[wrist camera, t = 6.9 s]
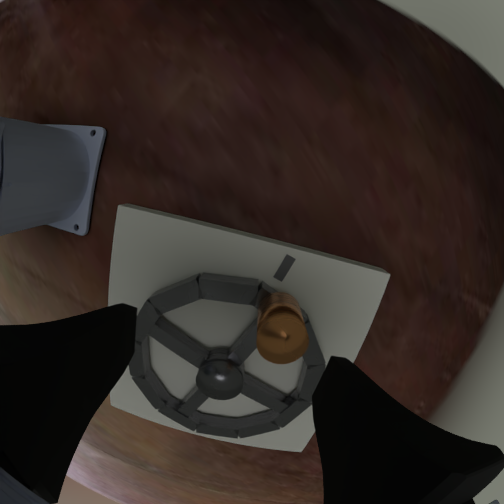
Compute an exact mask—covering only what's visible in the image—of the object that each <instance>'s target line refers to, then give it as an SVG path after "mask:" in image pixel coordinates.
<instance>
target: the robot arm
mask: <svg viewBox="0 0 504 504" xmlns="http://www.w3.org/2000/svg"><path fill="white" fill-rule="evenodd" d="M94 131H96V134H95V135H94V136H93V133H94ZM105 137H106V130H105V128H102V127H96V126H80V125H52V124H37V123H32V122H27V121H22V120H16V119H11V118H5V117H0V236H2V235H5V234H9V233H13V232H17V231H21V230H25V229H29V228H33V227H37V226H41V225H45V224H46V225H49V226H53V227H56V228H59V229H62V230H65V231H68V232H71V233H75V234H78V235H82V236H83V235H86V234H87V233H88V230H89V222H90V215H91V207H92V200H93V194H94V188H95V183H96V177H97V172H98V167H99V162H100V158H101V153H102V149H103V145H104V141H105ZM77 225H78V226H79V229H77ZM136 321H137V308H136V307H133V306H130V305H128V304H125V303H120V304H115V305H112V306H108V307H105V308H101V309H98V310H95V311H91V312H88V313H84V314H81V315H77V316H73V317H69V318H65V319H61V320H56V321H51V322H45V323H38V324H29V325H0V504H54V503H58V499H59V495H60V492H61V489H62V485H63V482H64V479H65V476H66V473H67V471H68V468H69V465H70V463H71V460H72V458H73V455H74V453H75V451H76V449H77V447H78V444H79V442H80V440H81V438H82V436H83V434H84V432H85V430H86V428H87V426H88V424H89V422H90V420H91V419H92V417H93V415H94V414H95V412H96V411H97V409H98V408H99V407H100V405H101V404H102V402H103V401H104V400H105V398H106V397H107V396H108V394H109V393H110V391H111V390H112V389H113V387H114V386H115V385H116V383H117V382H118V380H119V379H120V378H121V376H122V375H123V374H124V372H125V370H126V368H127V366H128V365H129V363H130V361H131V359H132V357H133V355H134V353H135V336H136ZM312 412H313V421H314V427H315V432H316V437H317V442H318V447H319V452H320V458H321V463H322V470H323V486H324V504H475V503H474V501H473V497H475V496H476V495H477V494H478V493H479V492H480V491H481V490H483V489H484V488H485V487H486V486H487V485H488V484H489V483H490V482H491V481H492V480H493V479H494V478H495V477H496V476H497V475H498V474H499V473H500V472H501V471H502V470H503V468H504V454H503V453H502V451H501V450H500V449H499V448H498V447H497V446H495V445H490V444H485V443H481V442H476V441H472V440H469V439H466V438H463V437H460V436H457V435H455V434H452V433H450V432H448V431H445V430H443V429H441V428H439V427H437V426H435V425H433V424H431V423H429V422H427V421H426V420H424V419H422V418H421V417H419V416H418V415H416V414H414V413H413V412H411V411H410V410H408V409H407V408H405V407H404V406H403V405H401V404H400V403H399V402H397V401H396V400H395V399H394V398H392V397H391V396H390V395H389V394H387V393H386V392H385V391H384V390H383V389H382V388H380V387H379V386H378V385H377V384H376V383H375V382H374V381H373V380H371V379H370V378H369V377H368V376H367V375H366V374H365V373H364V372H363V371H362V370H360V369H359V368H358V367H357V366H356V365H355V364H354V363H352V362H351V361H350V360H348V359H347V358H344V357H338V356H331V357H330V359H329V361H328V364H327V366H326V368H325V370H324V372H323V374H322V376H321V378H320V381H319V383H318V385H317V387H316V389H315V391H314V393H313V395H312ZM489 504H499V502H498V500H494V501H493V502H491V503H489Z"/></svg>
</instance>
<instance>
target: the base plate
mask: <svg viewBox="0 0 504 504" xmlns="http://www.w3.org/2000/svg"><path fill="white" fill-rule="evenodd" d="M203 272H205V273H213V274H220V275H228V276H236V277H245V278H253V279H259V283H258V285H259V284H260V283H261V282H262V281H264V282H265V283H266V284H268V285H269V286H271V287H272V288H273V289H275V290H276V291H278V292H284V293H288V294H290V295H292V296H293V297H294V298H295V299H296V300H297V301H298V303H299V306H300V308H302V309H303V310H305V313H307V315H308V317H309V320H310V322H311V325H312V327H313V330H314V332H315V335H316V337H317V340H318V343H319V345H320V348H321V350H322V353H323V356H324V359H325V362H326V363H325V364H326V366H327V364H328V361H329V359H330V357H331V356H338V357H344V358H347V359H348V360H350V361H351V362H352V363H354V360H355V358H356V356H357V354H358V352H359V350H360V348H361V346H362V344H363V341H364V339H365V337H366V335H367V333H368V330H369V328H370V326H371V323H372V321H373V319H374V316H375V314H376V311H377V309H378V306H379V304H380V301H381V299H382V296H383V294H384V291H385V288H386V285H387V283H388V280H389V277H390V274H389V273H388V272H386V271H385V270H384V269H382V268H379V267H376V266H372V265H368V264H365V263H361V262H358V261H354V260H350V259H347V258H343V257H339V256H336V255H332V254H328V253H324V252H321V251H317V250H313V249H309V248H306V247H302V246H298V245H294V244H290V243H287V242H283V241H279V240H275V239H271V238H267V237H263V236H260V235H256V234H252V233H248V232H244V231H240V230H236V229H232V228H228V227H224V226H220V225H216V224H212V223H208V222H204V221H200V220H196V219H191V218H187V217H183V216H179V215H175V214H171V213H166V212H162V211H158V210H154V209H150V208H145V207H141V206H137V205H132V204H122V205H118V210H117V216H116V223H115V230H114V238H113V246H112V255H111V266H110V278H109V294H108V306H112V305H115V304H120V303H125V304H128V305H130V306H133V307H136V308H137V315H138V313H139V312H140V310H141V308H142V307H143V305H144V303H145V302H146V300H147V299H148V298H149V297H150V296H151V295H152V294H153V293H154V292H155V291H158V290H160V289H162V288H165V287H167V286H170V285H172V284H174V283H177V282H179V281H182V280H184V279H186V278H189V277H191V276H193V275H196V274H198V273H200V274H201V275H202V274H203ZM257 316H258V309H257V308H255V307H254V306H252V305H245V304H237V303H229V302H221V301H214V300H207V299H200V300H197V301H195V302H192V303H189V304H187V305H184V306H182V307H179V308H176V309H174V310H171V311H168V312H166V313H163V314H162V315H161V316H160V318H161V319H163V320H164V321H165V322H167V323H168V324H170V325H171V326H172V327H174V328H175V329H177V330H178V331H180V332H181V333H182V334H184V335H185V336H187V337H188V338H190V339H191V340H193V341H194V342H196V343H197V344H199V345H200V346H202V347H203V348H205V349H206V350H208V351H210V350H212V349H216V348H225V349H230V348H231V346H232V345H233V344H234V343H235V342H236V341H237V340H238V338H239V337H240V336H241V335H242V334H243V333H244V331H245V330H246V329H247V328H248V327H249V326H250V325H251V323H252V322H253V321H254V320H255V319H256V317H257ZM148 346H149V359H150V368H151V370H152V371H153V373H154V374H155V375H156V377H157V378H158V380H159V381H160V383H161V384H162V385H163V387H164V388H165V389H166V391H167V392H168V394H169V395H170V396H171V397H173V398H175V399H176V400H178V401H180V402H181V401H182V400H183V399H184V398H185V397H186V396H187V395H188V394H189V393H190V392H191V391H192V390H193V389H194V387H195V386H196V375H197V373H198V370H199V369H198V368H197V367H195V366H194V365H192V364H191V363H189V362H187V361H186V360H184V359H183V358H181V357H180V356H178V355H177V354H175V353H174V352H172V351H171V350H169V349H168V348H166V347H165V346H164V345H162V344H161V343H159V342H158V341H156V340H155V339H154V338H152V337H151V336H149V335H148ZM303 363H304V359H303V356H302V357H300V358H299V359H298V360H296V361H294V362H291V363H288V364H275V363H271V362H269V361H267V360H265V359H264V358H263V357H262V356H261V355H260V354H259V352H258V350H257V348H256V349H255V350H254V351H253V353H252V354H251V355H250V356H249V357H248V358H247V359H246V360H245V361H244V364H245V371H244V373H245V374H247V375H249V376H251V377H252V378H254V379H256V380H258V381H259V382H261V383H263V384H265V385H267V386H268V387H270V388H272V389H274V390H276V391H278V392H280V393H281V394H283V395H285V396H287V397H288V396H289V395H290V394H291V393H292V392H293V391H295V390H296V389H297V386H298V382H299V378H300V374H301V370H302V366H303ZM325 368H326V367H325ZM110 399H111V405H112V406H114V407H116V408H119V409H121V410H124V411H126V412H129V413H131V414H134V415H136V416H139V417H142V418H145V419H147V420H150V421H153V422H156V423H159V424H162V425H165V426H168V427H172V428H175V429H178V430H182V431H185V432H189V433H192V434H196V435H200V436H204V437H208V438H213V439H217V440H221V441H226V442H231V443H236V444H242V445H248V446H254V447H260V448H268V449H276V450H285V451H295V452H302V450H303V449H304V447H305V446H306V444H307V443H308V441H309V440H310V438H311V437H312V435H313V434H314V432H315V427H314V421H313V412H312V405H311V406H310V407H308V408H307V409H306V410H305V411H304V412H302V413H301V414H300V415H299V416H297V417H296V418H295V419H294V420H292V421H291V422H290V423H289V424H287V425H286V426H285V427H283V428H281V427H280V429H279V430H275V431H271V432H267V433H263V434H259V435H255V436H250V437H245V438H240V437H239V436H238V439H237V438H229V437H221V436H214V435H208V434H202V433H196V430H195V431H194V432H193V431H192V430H190V429H188V428H186V427H184V426H182V425H180V424H179V423H177V422H175V421H173V420H171V419H170V418H168V417H166V416H165V415H163V414H161V413H160V412H158V409H155V408H154V407H153V406H152V405H151V403H150V402H149V401H148V400H147V398H146V397H145V396H144V394H143V393H142V392H141V390H140V389H139V388H138V386H137V385H136V384H135V382H134V381H133V379H132V376H131V375H130V371H129V365H128V366H127V368H126V370H125V372H124V374H123V375H122V376H121V378H120V379H119V380H118V382H117V383H116V385H115V386H114V387H113V389H112V390H111V391H110ZM271 410H272V409H270V408H268V407H266V406H264V405H262V404H260V403H258V402H256V401H254V400H252V399H250V398H249V397H247V396H245V395H243V394H241V393H240V394H239V395H238V396H236V397H235V398H232V399H229V400H216V399H212V398H210V397H209V398H208V399H207V400H206V401H205V402H204V403H203V404H202V405H201V406H200V407H199V408H198V409H197V410H196V411H197V412H199V413H201V414H205V415H211V416H218V417H225V418H232V419H240V418H244V417H248V416H252V415H256V414H260V413H264V412H268V411H271Z"/></svg>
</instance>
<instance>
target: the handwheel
mask: <svg viewBox="0 0 504 504" xmlns="http://www.w3.org/2000/svg"><path fill="white" fill-rule="evenodd" d="M258 283H259V279H253V278H245V277H236V276H228V275H220V274H213V273H205V272H203V274H202V275H201V274H200V273H198V274H196V275H193V276H191V277H189V278H186V279H184V280H182V281H179V282H177V283H174V284H172V285H170V286H167V287H165V288H162V289H160V290H158V291H155V292H154V293H153V294H152V295H151V296H150V297H149V298H148V299H147V300H146V302H145V303H144V305H143V307H142V308H141V310H140V312H139V313H138V315H137V321H136V336H135V353H134V355H133V357H132V359H131V361H130V363H129V371H130V375H131V376H132V379H133V381H134V382H135V384H136V385H137V386H138V388H139V389H140V390H141V392H142V393H143V394H144V396H145V397H146V398H147V400H148V401H149V402H150V403H151V405H152V406H153V407H154V408H155V409H158V412H160V413H161V414H163V415H165V416H166V417H168V418H170V419H171V420H173V421H175V422H177V423H179V424H180V425H182V426H184V427H186V428H188V429H190V430H192V431H193V432H194V431H195V430H196V433H202V434H208V435H214V436H221V437H229V438H237V439H238V436H239V437H240V438H245V437H250V436H255V435H259V434H263V433H267V432H271V431H275V430H279V429H280V427H281V428H283V427H285V426H286V425H287V424H289V423H290V422H291V421H292V420H294V419H295V418H296V417H297V416H299V415H300V414H301V413H302V412H304V411H305V410H306V409H307V408H308V407H310V406H311V405H312V395H313V393H314V391H315V389H316V387H317V385H318V383H319V381H320V378H321V376H322V374H323V372H324V370H325V367H326V364H325V363H326V362H325V359H324V356H323V353H322V350H321V348H320V345H319V343H318V340H317V337H316V335H315V332H314V330H313V327H312V325H311V322H310V320H309V317H308V315H307V313H305V310H303V309H302V308H300V306H299V303H298V301H297V300H296V299H295V298H294V297H293V296H292V295H290V294H288V293H284V292H278V291H276V290H275V289H273V288H272V287H271V286H269V285H268V284H266V283H265V282H264V281H262V282H261V283H260V284H259V285H258ZM200 299H207V300H214V301H221V302H229V303H237V304H245V305H252V306H254V307H255V308H257V309H258V316H257V317H256V319H255V320H254V321H253V322H252V323H251V325H250V326H249V327H248V328H247V329H246V330H245V331H244V333H243V334H242V335H241V336H240V337H239V338H238V340H237V341H236V342H235V343H234V344H233V345H232V346H231V348H230V349H225V348H216V349H212V350H210V351H208V350H206V349H205V348H203V347H202V346H200V345H199V344H197V343H196V342H194V341H193V340H191V339H190V338H188V337H187V336H185V335H184V334H182V333H181V332H180V331H178V330H177V329H175V328H174V327H172V326H171V325H170V324H168V323H167V322H165V321H164V320H163V319H161V318H160V316H161V315H162V314H163V313H166V312H168V311H171V310H174V309H176V308H179V307H182V306H184V305H187V304H189V303H192V302H195V301H197V300H200ZM148 335H149V336H151V337H152V338H154V339H155V340H156V341H158V342H159V343H161V344H162V345H164V346H165V347H166V348H168V349H169V350H171V351H172V352H174V353H175V354H177V355H178V356H180V357H181V358H183V359H184V360H186V361H187V362H189V363H191V364H192V365H194V366H195V367H197V368H198V369H199V370H198V373H197V375H196V386H195V387H194V389H193V390H192V391H191V392H190V393H189V394H188V395H187V396H186V397H185V398H184V399H183V400H182V401H181V402H180V401H178V400H176V399H175V398H173V397H171V396H170V395H169V394H168V392H167V391H166V389H165V388H164V387H163V385H162V384H161V383H160V381H159V380H158V378H157V377H156V375H155V374H154V373H153V371H152V370H151V368H150V359H149V346H148ZM256 348H257V350H258V352H259V354H260V355H261V356H262V357H263V358H264V359H265V360H267V361H269V362H271V363H275V364H288V363H291V362H294V361H296V360H298V359H299V358H300V357H302V356H303V359H304V363H303V366H302V370H301V374H300V378H299V382H298V386H297V389H296V390H295V391H293V392H292V393H291V394H290V395H289V396H288V397H287V396H285V395H283V394H281V393H280V392H278V391H276V390H274V389H272V388H270V387H268V386H267V385H265V384H263V383H261V382H259V381H258V380H256V379H254V378H252V377H251V376H249V375H247V374H245V373H244V371H245V364H244V361H245V360H246V359H247V358H248V357H249V356H250V355H251V354H252V353H253V351H254V350H255V349H256ZM240 393H241V394H243V395H245V396H247V397H249V398H250V399H252V400H254V401H256V402H258V403H260V404H262V405H264V406H266V407H268V408H270V409H272V410H271V411H268V412H264V413H260V414H256V415H252V416H248V417H244V418H240V419H232V418H225V417H218V416H211V415H205V414H201V413H199V412H197V411H196V410H197V409H198V408H199V407H200V406H201V405H202V404H203V403H204V402H205V401H206V400H207V399H208V398H209V397H210V398H212V399H216V400H229V399H232V398H235V397H236V396H238V395H239V394H240Z"/></svg>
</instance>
